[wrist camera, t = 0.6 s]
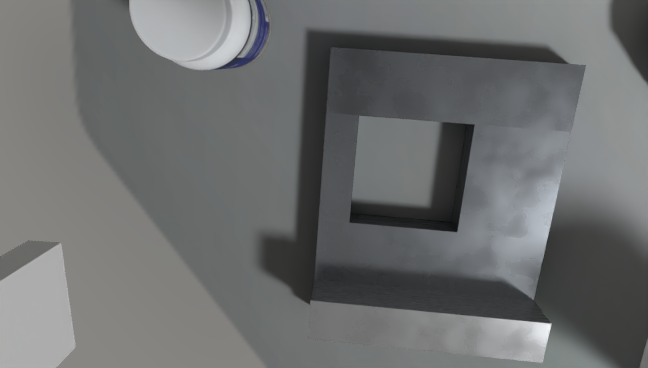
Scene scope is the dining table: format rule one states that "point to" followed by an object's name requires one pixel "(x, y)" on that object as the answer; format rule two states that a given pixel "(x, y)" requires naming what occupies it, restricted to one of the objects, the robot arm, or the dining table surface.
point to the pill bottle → (203, 30)
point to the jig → (468, 214)
